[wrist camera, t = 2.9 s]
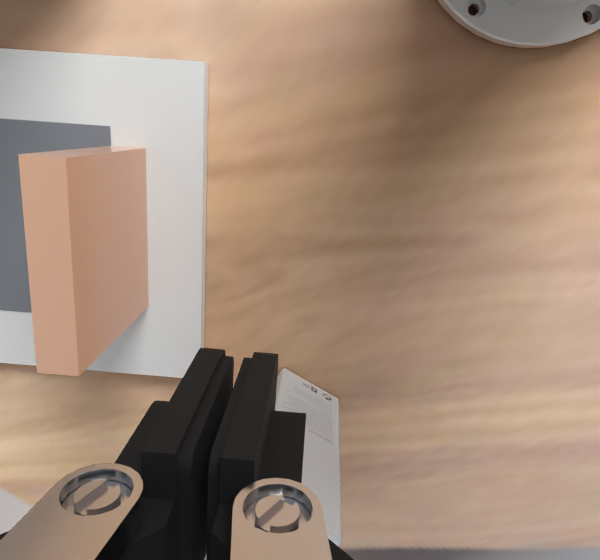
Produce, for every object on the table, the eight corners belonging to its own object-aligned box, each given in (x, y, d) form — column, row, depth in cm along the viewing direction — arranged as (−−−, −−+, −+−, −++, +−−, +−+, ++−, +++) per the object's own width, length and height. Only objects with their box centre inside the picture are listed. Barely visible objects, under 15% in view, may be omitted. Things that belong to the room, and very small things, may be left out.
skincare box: (281, 364, 32) (257, 494, 21) (340, 397, 33) (347, 543, 21) (234, 436, 34) (187, 593, 22) (291, 466, 34) (273, 637, 23)
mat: (208, 63, 28) (204, 61, 27) (203, 372, 33) (200, 379, 32) (-87, 44, 28) (-102, 41, 27) (-46, 351, 33) (-58, 358, 32)
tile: (146, 147, 28) (65, 157, 19) (148, 305, 31) (78, 376, 22) (110, 145, 28) (14, 153, 19) (115, 303, 31) (33, 372, 22)
